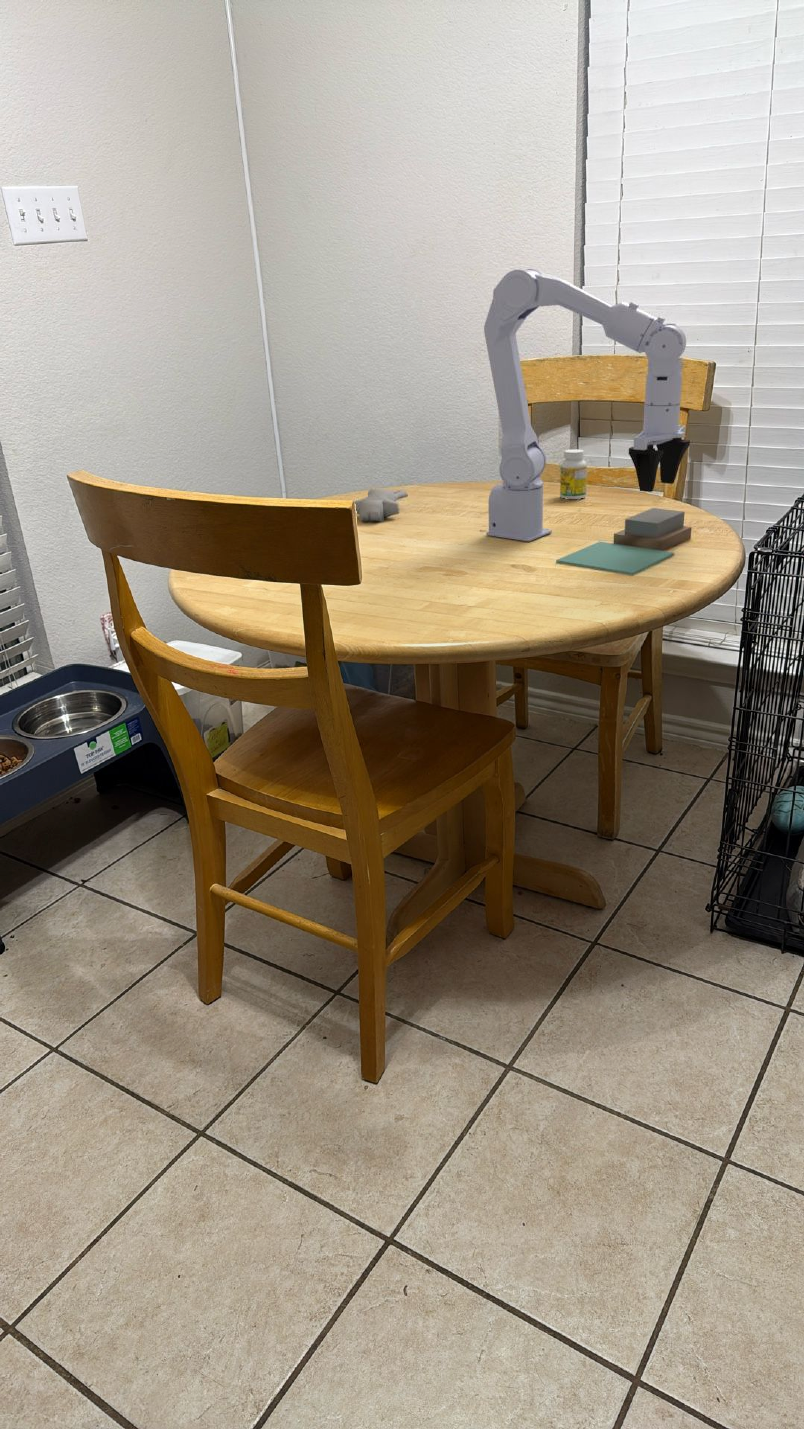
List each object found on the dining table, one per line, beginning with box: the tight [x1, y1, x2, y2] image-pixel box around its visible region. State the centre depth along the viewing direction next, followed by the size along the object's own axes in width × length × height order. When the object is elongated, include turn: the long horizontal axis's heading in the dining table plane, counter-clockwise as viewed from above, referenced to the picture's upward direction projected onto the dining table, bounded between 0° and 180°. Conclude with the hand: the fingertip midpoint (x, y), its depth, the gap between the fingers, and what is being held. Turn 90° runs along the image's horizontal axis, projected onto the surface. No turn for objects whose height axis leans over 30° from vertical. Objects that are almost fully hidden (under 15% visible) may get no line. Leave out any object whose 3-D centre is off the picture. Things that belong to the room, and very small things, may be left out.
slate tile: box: [624, 507, 685, 538], centre depth 168 cm, size 6×10×2 cm, turn 139°
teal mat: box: [555, 541, 675, 576], centre depth 160 cm, size 14×14×1 cm
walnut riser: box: [612, 525, 692, 551], centre depth 168 cm, size 9×11×2 cm
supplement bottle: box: [559, 448, 588, 500], centre depth 202 cm, size 5×5×10 cm
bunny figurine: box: [353, 488, 409, 523], centre depth 196 cm, size 10×5×15 cm
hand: (657, 487), depth 165 cm, fingers open, 7 cm apart
